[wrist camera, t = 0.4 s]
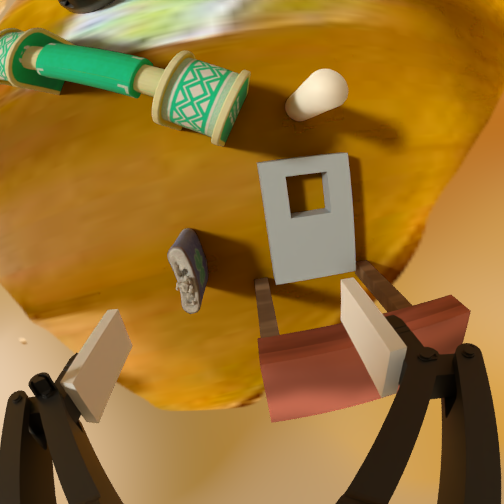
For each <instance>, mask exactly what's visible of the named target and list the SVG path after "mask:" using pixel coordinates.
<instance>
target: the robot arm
mask: <svg viewBox="0 0 504 504" xmlns="http://www.w3.org/2000/svg"><path fill="white" fill-rule="evenodd" d="M58 1H59V3H60V4H61V5H62V6H63V7H64V8H66V9H67V10H69V11H70V12H73V13H88V12H92V11H95V10H98V9H100V8H102V7H104V6H106V5H108V4H110V3H112V2H113V1H115V0H58ZM341 321H342V323H343V325H344V327H345V329H346V331H347V333H348V334H349V336H350V338H351V340H352V342H353V344H354V346H355V348H356V349H357V351H358V353H359V355H360V357H361V359H362V361H363V363H364V365H365V367H366V369H367V371H368V373H369V375H370V376H371V378H372V380H373V382H374V384H375V386H376V388H377V390H378V392H379V394H380V396H381V398H382V397H386V396H389V395H392V394H396V393H397V394H396V397H395V399H394V401H393V404H392V406H391V408H390V411H389V413H388V415H387V417H386V419H385V421H384V423H383V425H382V428H381V430H380V432H379V434H378V436H377V438H376V440H375V442H374V444H373V446H372V448H371V449H370V452H369V453H368V455H367V457H366V459H365V461H364V462H363V464H362V466H361V467H360V469H359V471H358V473H357V474H356V476H355V478H354V480H353V481H352V483H351V484H350V486H349V487H348V489H347V491H346V492H345V493H344V494H343V495H342V496H341V497H340V499H339V500H338V501H337V503H336V504H388V503H389V500H390V499H391V497H392V495H393V493H394V491H395V489H396V486H397V485H398V483H399V480H400V478H401V476H402V474H403V471H404V469H405V467H406V465H407V462H408V460H409V457H410V455H411V453H412V450H413V447H414V445H415V442H416V440H417V437H418V434H419V431H420V428H421V426H422V423H423V420H424V417H425V413H426V410H427V407H428V404H429V400H430V399H437V398H441V402H442V403H441V404H442V455H441V472H440V484H439V493H438V501H437V504H501V467H500V452H499V442H498V433H497V425H496V418H495V412H494V406H493V400H492V395H491V390H490V386H489V381H488V376H487V373H486V368H485V364H484V360H483V357H482V353H481V351H480V349H479V348H478V347H477V346H475V345H473V344H469V343H465V344H461V345H459V346H458V347H457V348H456V350H455V353H454V354H439V353H438V351H436V350H435V349H433V348H430V347H424V346H423V345H422V343H421V342H420V341H419V340H418V338H417V337H416V336H415V335H414V333H413V332H412V331H411V330H410V329H409V327H408V326H407V325H406V324H405V322H404V321H403V320H402V319H401V318H399V317H397V316H395V315H390V316H386V317H384V316H383V314H382V313H381V312H380V310H379V309H378V308H377V306H376V305H375V304H374V303H373V301H372V300H371V299H370V298H369V296H368V295H367V294H366V292H365V291H364V290H363V289H362V287H361V286H360V285H359V284H358V282H357V281H356V280H355V279H354V278H348V279H342V280H341ZM131 348H132V343H131V341H130V339H129V336H128V334H127V331H126V328H125V326H124V323H123V321H122V318H121V315H120V313H119V310H118V309H113V310H107V312H106V313H105V315H104V316H103V317H102V319H101V320H100V322H99V323H98V325H97V326H96V328H95V329H94V330H93V332H92V333H91V335H90V336H89V338H88V339H87V341H86V342H85V344H84V345H83V347H82V348H81V350H80V351H79V353H76V354H75V355H74V356H72V357H71V358H70V359H69V361H68V363H67V364H66V366H65V367H64V369H63V371H62V372H61V374H60V375H59V377H58V378H57V380H56V381H55V383H54V382H53V381H52V379H51V378H50V376H49V374H47V373H39V374H37V375H35V376H34V377H32V378H31V380H30V381H29V387H30V389H31V390H32V392H33V393H34V395H35V396H36V397H28V396H27V395H26V393H25V392H24V391H17V392H14V393H13V394H12V395H11V396H10V397H9V399H8V402H7V407H6V413H5V418H4V424H3V431H2V437H1V446H0V504H57V503H56V496H55V487H54V477H53V464H52V463H54V466H55V469H56V472H57V474H58V478H59V480H60V483H61V485H62V488H63V491H64V493H65V496H66V498H67V500H68V503H69V504H123V502H122V501H121V499H120V497H119V496H118V494H117V492H116V491H115V489H114V487H113V486H112V484H111V482H110V481H109V479H108V477H107V475H106V473H105V471H104V469H103V468H102V466H101V464H100V462H99V460H98V458H97V456H96V454H95V452H94V450H93V448H92V445H91V444H90V441H89V439H88V437H87V435H86V432H85V430H84V428H83V426H82V423H81V422H80V421H79V417H80V415H82V416H83V417H84V419H85V420H86V421H87V422H92V423H99V421H100V419H101V416H102V414H103V412H104V409H105V406H106V404H107V402H108V399H109V397H110V395H111V393H112V390H113V388H114V386H115V383H116V381H117V379H118V376H119V374H120V372H121V370H122V367H123V365H124V363H125V361H126V359H127V356H128V354H129V352H130V350H131ZM398 385H399V386H400V387H399V389H398ZM397 389H398V392H397ZM52 460H53V461H52Z"/></svg>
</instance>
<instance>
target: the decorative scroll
mask: <svg viewBox="0 0 504 504" xmlns="http://www.w3.org/2000/svg"><path fill="white" fill-rule="evenodd" d="M250 75H251V74H250V72H249V71H247V70H243V71H241V73H240V74H238V73H235V72H232V71H230V70H227V69H224V68H221V67H218V66H215V65H212V64H209V63H206V62H203V61H199V60H196V58H195V56H194V54H193V53H191V52H189V51H181V52H180V53H178V54H177V55H176V56H175V57H174V58H173V59H172V60H171V61H170V63H169V64H168V66H167V67H166V69H161V68H158V67H154V66H153V64H152V63H151V62H150V61H149V60H148V59H146V58H142V57H138V56H133V55H129V54H124V53H119V52H114V51H109V50H103V49H97V48H91V47H84V46H77V45H74V44H72V43H71V42H69V41H67V40H65V39H63V38H61V37H59V36H57V35H55V34H53V33H51V32H49V31H47V30H45V29H42V28H33V29H30V30H27V31H25V32H24V31H21V30H19V29H15V28H8V29H4V30H2V31H0V84H3V85H10V86H16V87H20V88H25V89H31V90H36V91H41V92H46V93H51V94H56V95H59V94H60V92H61V89H62V87H63V84H64V81H69V82H74V83H79V84H83V85H87V86H92V87H96V88H100V89H104V90H108V91H112V92H116V93H119V94H123V95H127V96H130V97H134V98H139V96H140V94H141V93H142V94H146V95H149V96H153V97H154V99H153V105H152V118H153V121H154V122H155V123H157V124H160V125H163V126H166V127H170V128H173V129H176V130H179V131H181V130H182V127H185V128H187V129H190V130H193V131H196V132H199V133H201V134H204V135H207V136H209V137H212V139H211V142H212V143H213V144H215V145H218V146H222V147H224V145H225V143H226V140H227V138H228V136H229V134H230V131H231V129H232V127H233V125H234V122H235V120H236V118H237V116H238V113H239V111H240V109H241V107H242V105H243V103H244V100H245V98H246V96H247V94H248V89H249V82H250Z"/></svg>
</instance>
